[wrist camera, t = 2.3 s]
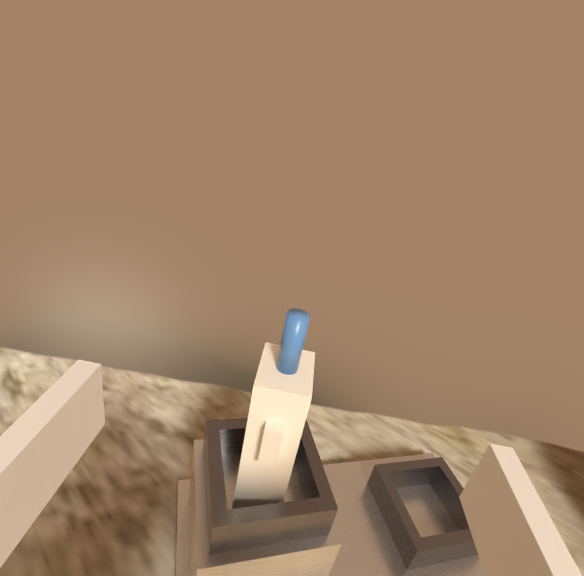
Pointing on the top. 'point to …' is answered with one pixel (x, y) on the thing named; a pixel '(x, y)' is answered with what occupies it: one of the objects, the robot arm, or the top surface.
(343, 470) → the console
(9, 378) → the top surface
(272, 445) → the plug
